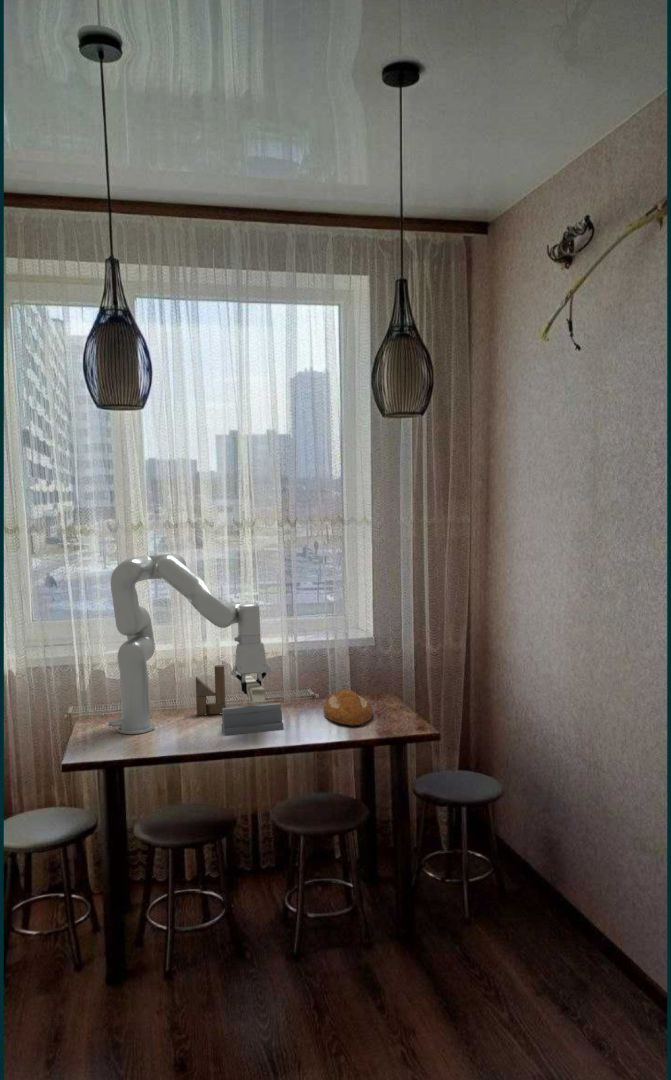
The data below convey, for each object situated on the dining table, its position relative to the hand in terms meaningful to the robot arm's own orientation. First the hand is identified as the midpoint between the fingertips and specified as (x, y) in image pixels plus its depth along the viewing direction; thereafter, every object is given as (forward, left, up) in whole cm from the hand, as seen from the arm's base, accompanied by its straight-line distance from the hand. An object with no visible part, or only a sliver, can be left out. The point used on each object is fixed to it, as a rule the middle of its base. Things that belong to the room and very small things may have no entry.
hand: (251, 692), depth 291 cm
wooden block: (-10, +27, -13) cm, 32 cm away
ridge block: (0, 0, -13) cm, 13 cm away
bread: (+36, +6, -13) cm, 39 cm away
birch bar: (0, 0, -1) cm, 1 cm away
